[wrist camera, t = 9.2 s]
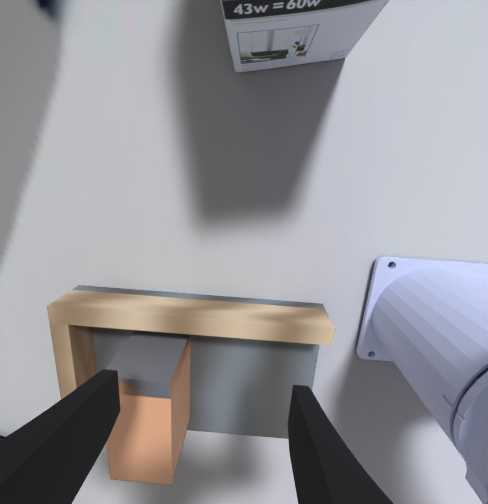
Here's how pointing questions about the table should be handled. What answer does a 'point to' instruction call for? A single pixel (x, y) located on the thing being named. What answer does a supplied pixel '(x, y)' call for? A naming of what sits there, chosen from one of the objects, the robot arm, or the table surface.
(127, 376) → the terracotta bar
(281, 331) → the corner arena
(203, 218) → the table surface
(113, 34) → the table surface
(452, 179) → the table surface
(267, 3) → the light bulb box
